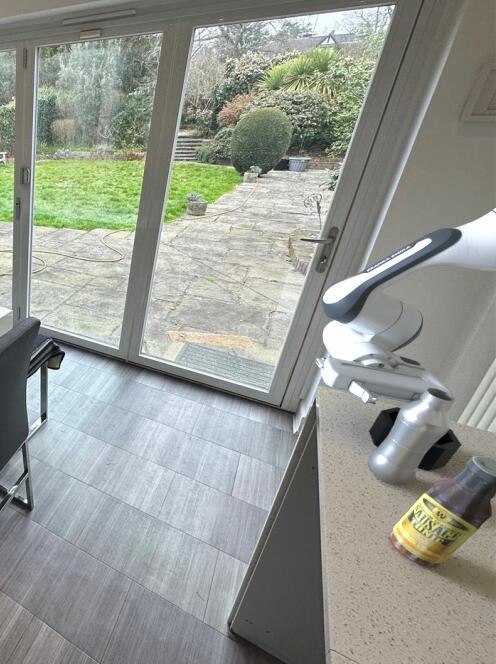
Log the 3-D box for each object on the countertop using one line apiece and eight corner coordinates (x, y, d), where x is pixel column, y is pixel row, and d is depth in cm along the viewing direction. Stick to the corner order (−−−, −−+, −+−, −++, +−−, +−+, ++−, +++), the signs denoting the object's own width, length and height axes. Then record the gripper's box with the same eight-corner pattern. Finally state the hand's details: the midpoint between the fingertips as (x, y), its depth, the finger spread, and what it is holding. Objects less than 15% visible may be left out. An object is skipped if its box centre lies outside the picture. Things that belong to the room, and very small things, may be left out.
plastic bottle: (402, 470, 80) (459, 390, 71) (411, 496, 75) (474, 413, 66) (360, 456, 83) (410, 377, 74) (366, 479, 78) (420, 398, 68)
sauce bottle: (378, 538, 67) (444, 452, 58) (401, 526, 69) (468, 441, 60) (428, 578, 62) (509, 489, 53) (451, 563, 64) (533, 476, 55)
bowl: (393, 425, 91) (407, 404, 88) (455, 463, 82) (472, 441, 79) (357, 433, 89) (370, 412, 86) (417, 474, 79) (433, 452, 76)
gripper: (318, 344, 91) (344, 381, 79) (433, 364, 85) (479, 407, 73) (307, 367, 94) (330, 406, 82) (417, 388, 88) (459, 432, 76)
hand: (401, 406), depth 78 cm, fingers open, 8 cm apart
